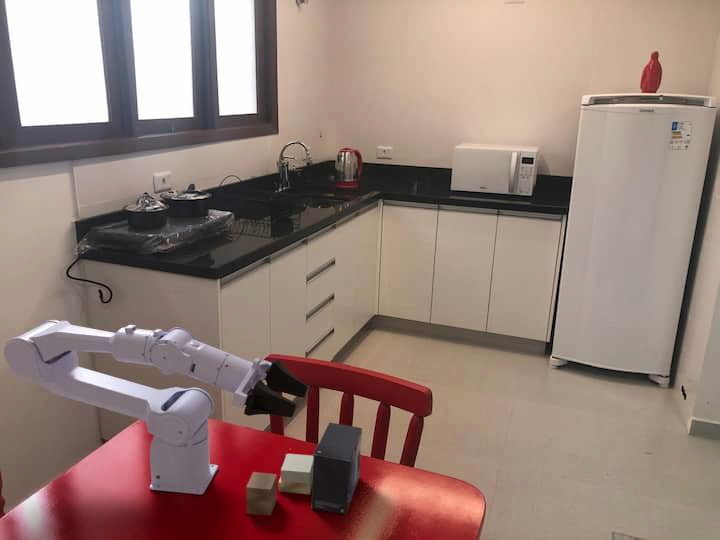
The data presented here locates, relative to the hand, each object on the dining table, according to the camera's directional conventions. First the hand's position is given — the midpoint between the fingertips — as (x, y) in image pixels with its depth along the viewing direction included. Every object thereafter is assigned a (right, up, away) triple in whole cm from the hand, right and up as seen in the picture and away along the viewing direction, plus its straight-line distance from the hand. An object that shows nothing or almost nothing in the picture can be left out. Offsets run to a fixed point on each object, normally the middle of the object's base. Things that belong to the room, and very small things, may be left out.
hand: (300, 401), depth 93 cm
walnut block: (-7, -18, +2) cm, 19 cm away
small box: (+6, -18, +6) cm, 19 cm away
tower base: (-1, -17, +8) cm, 19 cm away
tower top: (-1, -15, +8) cm, 17 cm away
